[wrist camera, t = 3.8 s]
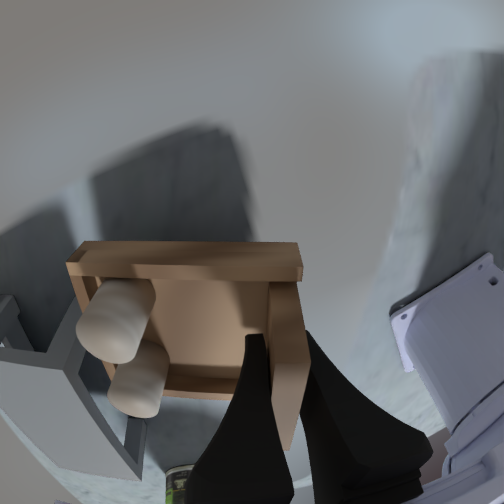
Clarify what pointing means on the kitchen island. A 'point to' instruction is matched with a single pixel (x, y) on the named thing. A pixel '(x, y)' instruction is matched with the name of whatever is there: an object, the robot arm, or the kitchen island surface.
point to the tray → (192, 320)
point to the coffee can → (177, 483)
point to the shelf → (62, 401)
